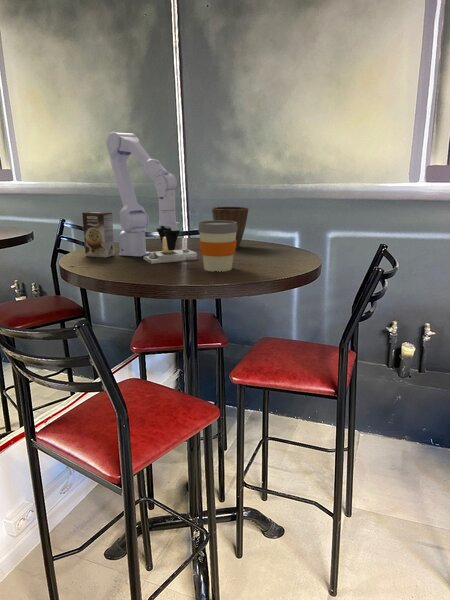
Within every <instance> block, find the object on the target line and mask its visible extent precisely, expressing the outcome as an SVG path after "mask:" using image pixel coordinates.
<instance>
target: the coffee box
mask: <svg viewBox="0 0 450 600" xmlns="http://www.w3.org/2000/svg"><path fill="white" fill-rule="evenodd" d="M81 214H82V227H83V238H84V239H83V241H84V252H85V257H92V258H93V257H94V258H95V257H96V258H105V259H106V258H108V257H111V256H115V242H114V240H115V239H114V221H113V212H109V211H108V212H107V211H83V212H82V213H81Z"/></svg>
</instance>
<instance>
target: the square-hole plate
mask: <svg viewBox="0 0 450 600" xmlns="http://www.w3.org/2000/svg"><path fill="white" fill-rule="evenodd" d="M148 252H149V254H148V255H144V256H143V260H145V262H147V263H149V264H152V265H153V264H163V263H175V262H184V261H197V260H198V252H196V251H194V250H191V249H189V248H182V249H175V250H174V254H167V255H164V254H162V250H161V251H148Z"/></svg>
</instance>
